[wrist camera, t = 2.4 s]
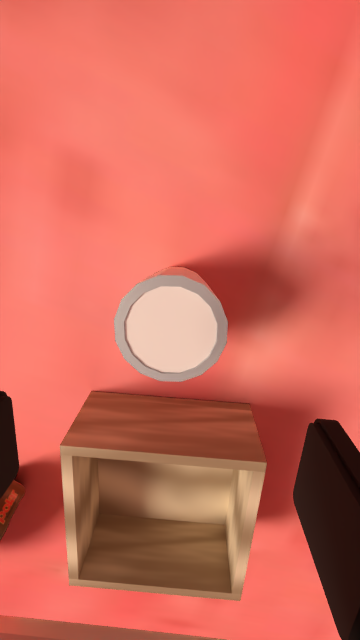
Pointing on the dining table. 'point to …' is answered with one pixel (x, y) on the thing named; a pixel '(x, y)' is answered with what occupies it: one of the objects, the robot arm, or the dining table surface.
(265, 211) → the dining table surface
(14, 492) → the tin
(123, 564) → the box
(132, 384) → the dining table surface
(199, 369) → the shot glass
